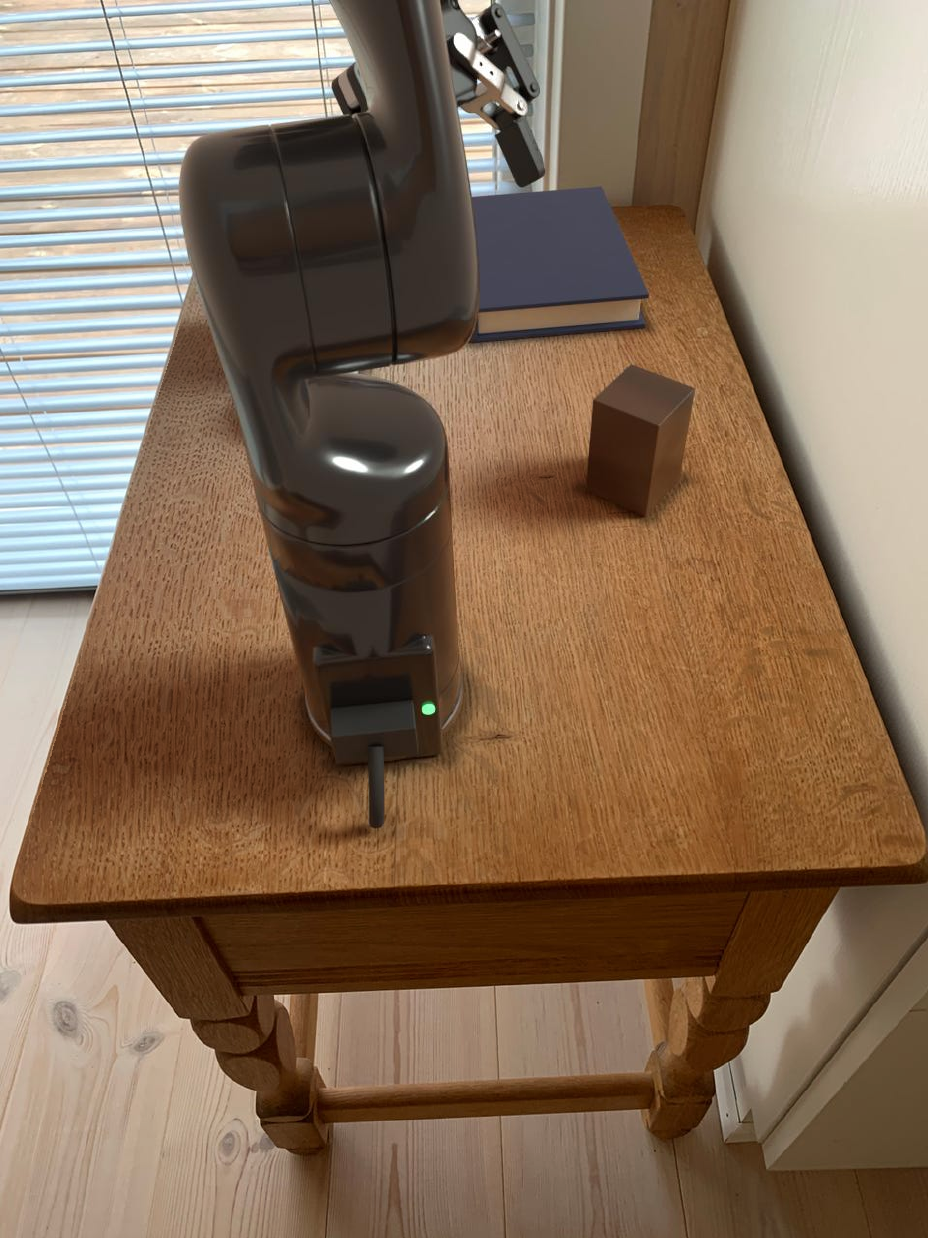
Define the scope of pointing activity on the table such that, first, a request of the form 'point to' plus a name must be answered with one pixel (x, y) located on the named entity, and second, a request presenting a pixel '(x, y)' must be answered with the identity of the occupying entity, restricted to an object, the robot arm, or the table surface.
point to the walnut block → (638, 438)
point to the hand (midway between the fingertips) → (493, 205)
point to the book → (553, 266)
